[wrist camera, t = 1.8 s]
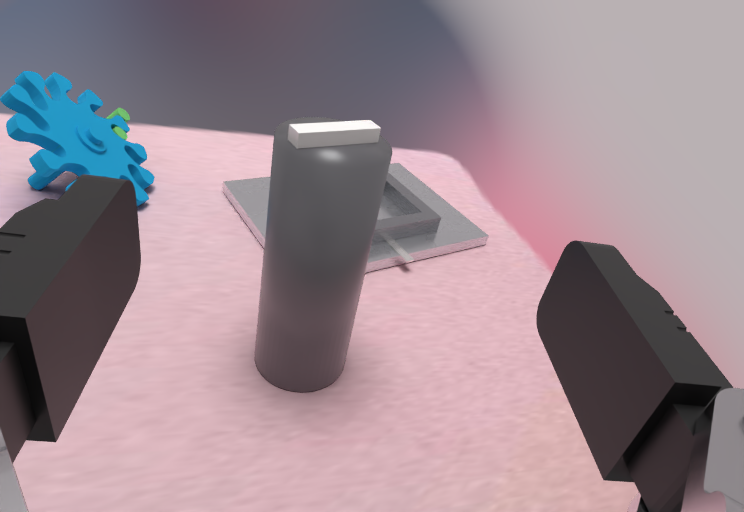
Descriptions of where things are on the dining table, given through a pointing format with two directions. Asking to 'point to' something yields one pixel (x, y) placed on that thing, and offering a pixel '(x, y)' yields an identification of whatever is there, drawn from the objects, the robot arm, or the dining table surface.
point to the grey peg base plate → (382, 219)
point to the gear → (72, 134)
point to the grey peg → (317, 246)
